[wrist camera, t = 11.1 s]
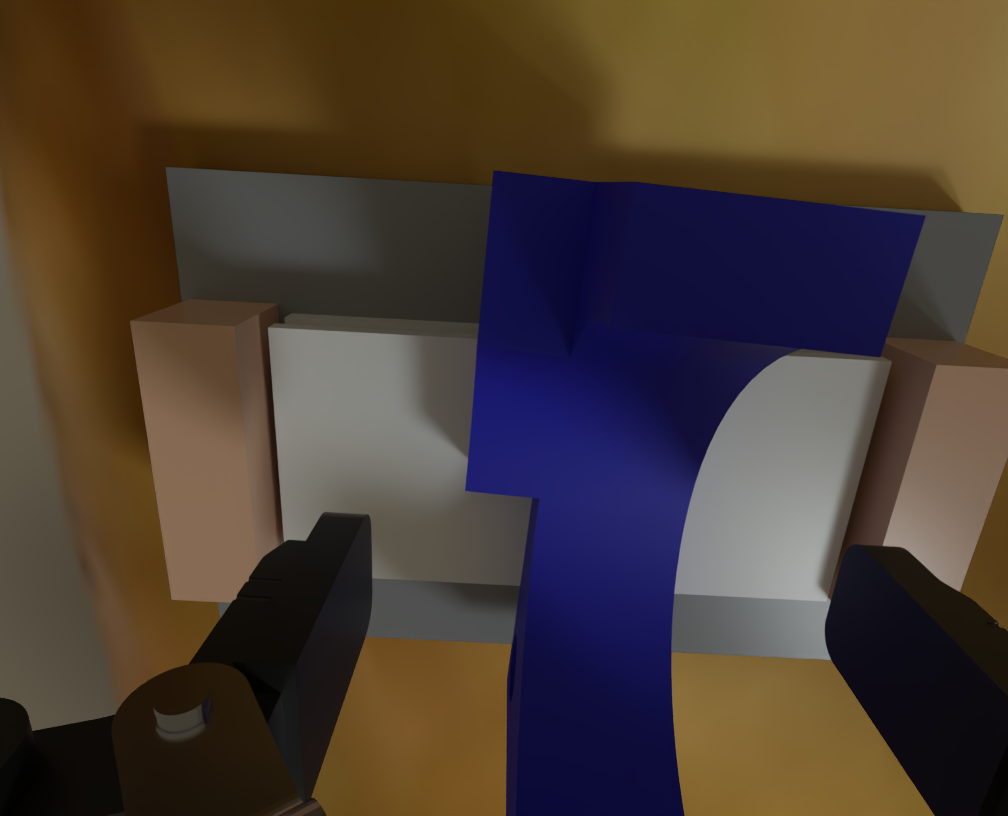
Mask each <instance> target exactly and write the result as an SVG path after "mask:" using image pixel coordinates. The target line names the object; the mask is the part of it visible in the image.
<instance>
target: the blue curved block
mask: <svg viewBox="0 0 1008 816" xmlns="http://www.w3.org/2000/svg"><path fill="white" fill-rule="evenodd" d="M925 217H926V216H925V215H917V214H908V213H899V212H891V211H882V210H873V209H865V208H856V207H847V206H839V205H830V204H821V203H813V202H804V201H796V200H787V199H778V198H770V197H761V196H752V195H744V194H735V193H726V192H718V191H709V190H700V189H692V188H683V187H675V186H666V185H657V184H649V183H640V182H589V181H580V180H572V179H563V178H554V177H546V176H537V175H528V174H520V173H511V172H502V171H494V172H493V183H492V193H491V204H490V214H489V224H488V235H487V245H486V256H485V266H484V277H483V287H482V297H481V308H480V318H479V329H478V339H477V351H476V368H475V382H474V395H473V408H472V420H471V432H470V443H469V454H468V465H467V476H466V486H465V491H469V492H479V493H489V494H499V495H509V496H519V497H528V498H532V504H531V511H530V518H529V525H528V533H527V540H526V547H525V554H524V562H523V569H522V576H521V583H520V590H519V597H518V605H517V612H516V619H515V626H514V633H513V641H512V648H511V655H510V662H509V670H508V677H507V773H506V816H684V810H683V804H682V797H681V790H680V783H679V775H678V766H677V758H676V749H675V737H674V724H673V707H672V679H671V644H672V619H673V605H674V592H675V583H676V574H677V566H678V559H679V553H680V546H681V541H682V535H683V530H684V525H685V521H686V516H687V512H688V508H689V504H690V500H691V496H692V493H693V489H694V486H695V482H696V480H697V477H698V474H699V471H700V468H701V465H702V462H703V460H704V457H705V455H706V452H707V450H708V447H709V445H710V443H711V441H712V439H713V437H714V435H715V433H716V431H717V428H718V426H719V425H720V423H721V421H722V420H723V418H724V416H725V414H726V413H727V411H728V409H729V408H730V407H731V405H732V404H733V402H734V401H735V400H736V398H737V397H738V395H739V394H740V393H741V392H742V391H743V389H744V388H745V387H746V386H747V385H748V384H749V383H750V381H751V380H752V379H753V378H755V377H756V376H757V375H758V374H759V373H760V372H761V371H762V370H763V369H765V368H766V367H768V366H769V365H770V364H772V363H773V362H775V361H776V360H778V359H779V358H781V357H784V356H786V355H788V354H790V353H792V352H795V351H797V350H801V349H807V350H816V351H825V352H834V353H843V354H852V355H861V356H871V357H881V354H882V351H883V347H884V344H885V341H886V338H887V335H888V332H889V329H890V326H891V323H892V320H893V316H894V313H895V310H896V307H897V304H898V301H899V298H900V295H901V292H902V289H903V285H904V282H905V279H906V276H907V273H908V270H909V267H910V264H911V261H912V258H913V255H914V251H915V248H916V245H917V242H918V239H919V236H920V233H921V230H922V227H923V224H924V220H925Z"/></svg>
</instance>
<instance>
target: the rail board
mask: <svg viewBox="0 0 1008 816" xmlns="http://www.w3.org/2000/svg"><path fill="white" fill-rule="evenodd" d="M165 168H166V176H167V184H168V193H169V201H170V209H171V217H172V226H173V234H174V242H175V250H176V259H177V267H178V275H179V283H180V292H181V300H182V302H180V303H178V304H175V305H172V306H169V307H167V308H164V309H161V310H158V311H155V312H153V313H150V314H147V315H144V316H142V317H139V318H136V319H133V320H131V321H130V325H131V332H132V339H133V345H134V352H135V358H136V365H137V372H138V378H139V385H140V391H141V398H142V405H143V411H144V418H145V425H146V431H147V438H148V444H149V451H150V458H151V464H152V471H153V478H154V484H155V491H156V497H157V504H158V511H159V517H160V524H161V531H162V537H163V544H164V550H165V557H166V564H167V570H168V577H169V584H170V590H171V597H172V600H189V601H208V602H218V605H219V613H220V618H221V617H222V615H223V614H224V613H225V611H226V610H227V608H228V607H229V605H230V604H231V602H232V601H233V600H236V597H237V594H238V592H239V591H240V589H241V588H242V586H243V585H244V584H245V582H248V580H249V576H250V575H251V573H252V572H253V571H254V569H255V568H256V566H257V565H258V563H259V562H260V560H261V559H262V558H263V556H265V555H266V554H268V553H269V552H271V551H272V550H274V549H275V548H277V547H278V546H279V545H281V544H282V543H284V542H285V541H287V540H302V541H306V539H307V538H308V536H309V534H310V533H311V531H312V529H313V528H314V526H315V524H316V523H317V521H318V519H319V518H320V516H321V515H322V513H324V512H336V513H353V514H368V515H369V516H370V520H371V533H372V589H373V596H372V609H371V616H370V622H369V627H368V630H367V634H366V637H383V638H403V639H423V640H443V641H463V642H483V643H503V644H512V641H513V633H514V626H515V619H516V612H517V605H518V597H519V590H520V583H521V576H522V569H523V562H524V554H525V547H526V540H527V533H528V525H529V518H530V511H531V504H532V498H528V497H519V496H509V495H499V494H489V493H479V492H469V491H465V486H466V476H467V465H468V454H469V443H470V432H471V420H472V408H473V395H474V382H475V368H476V351H477V339H478V329H479V318H480V308H481V297H482V287H483V277H484V266H485V256H486V245H487V235H488V224H489V214H490V204H491V193H492V185H477V184H459V183H442V182H424V181H406V180H389V179H371V178H354V177H336V176H319V175H301V174H284V173H266V172H249V171H231V170H213V169H196V168H175V167H165ZM839 206H845V205H839ZM847 207H856V208H865V209H873V210H882V211H891V212H899V213H908V214H917V215H925V216H926V217H925V220H924V224H923V227H922V230H921V233H920V236H919V239H918V242H917V245H916V248H915V251H914V255H913V258H912V261H911V264H910V267H909V270H908V273H907V276H906V279H905V282H904V285H903V289H902V292H901V295H900V298H899V301H898V304H897V307H896V310H895V313H894V316H893V320H892V323H891V326H890V329H889V332H888V335H887V338H886V341H885V344H884V347H883V351H882V354H881V357H871V356H861V355H852V354H843V353H834V352H825V351H816V350H807V349H801V350H797V351H795V352H792V353H790V354H788V355H786V356H784V357H781V358H779V359H778V360H776V361H775V362H773V363H772V364H770V365H769V366H768V367H766V368H765V369H763V370H762V371H761V372H760V373H759V374H758V375H757V376H756V377H755V378H753V379H752V380H751V381H750V383H749V384H748V385H747V386H746V387H745V388H744V389H743V391H742V392H741V393H740V394H739V395H738V397H737V398H736V400H735V401H734V402H733V404H732V405H731V407H730V408H729V409H728V411H727V413H726V414H725V416H724V418H723V420H722V421H721V423H720V425H719V426H718V428H717V431H716V433H715V435H714V437H713V439H712V441H711V443H710V445H709V447H708V450H707V452H706V455H705V457H704V460H703V462H702V465H701V468H700V471H699V474H698V477H697V480H696V482H695V486H694V489H693V493H692V496H691V500H690V504H689V508H688V512H687V516H686V521H685V525H684V530H683V535H682V541H681V546H680V553H679V559H678V566H677V574H676V583H675V592H674V605H673V619H672V644H671V652H682V653H702V654H722V655H742V656H762V657H782V658H802V659H822V660H831V658H830V656H829V653H828V650H827V647H826V642H825V621H826V617H827V613H828V610H829V606H830V602H831V599H832V595H833V591H834V588H835V584H836V580H837V577H838V573H839V569H840V566H841V562H842V558H843V555H844V553H845V551H846V550H847V549H848V547H850V546H851V545H854V544H861V545H878V546H895V547H902V548H905V549H906V550H908V551H909V552H910V553H911V554H912V555H913V556H914V557H915V558H916V559H918V560H919V561H920V562H921V563H922V564H923V565H924V566H925V567H926V568H927V569H928V570H929V571H931V572H932V573H933V574H934V575H935V576H936V577H937V578H938V579H939V580H940V581H942V582H944V583H945V584H947V585H949V586H950V587H952V588H954V589H955V590H957V591H959V592H960V590H961V587H962V584H963V581H964V578H965V576H966V573H967V570H968V567H969V564H970V562H971V559H972V556H973V553H974V550H975V548H976V545H977V542H978V539H979V536H980V534H981V531H982V528H983V525H984V522H985V520H986V517H987V514H988V511H989V508H990V506H991V503H992V500H993V497H994V494H995V492H996V489H997V486H998V483H999V480H1000V478H1001V475H1002V472H1003V469H1004V467H1005V464H1006V461H1007V458H1008V359H1005V358H1002V357H999V356H997V355H994V354H991V353H988V352H985V351H982V350H980V349H977V348H974V347H971V346H968V345H965V344H964V342H965V339H966V335H967V332H968V329H969V326H970V323H971V319H972V316H973V313H974V310H975V306H976V303H977V300H978V297H979V294H980V290H981V287H982V284H983V281H984V277H985V274H986V271H987V268H988V265H989V261H990V258H991V255H992V252H993V249H994V245H995V242H996V239H997V236H998V232H999V229H1000V226H1001V223H1002V220H1003V216H1004V215H999V214H983V213H968V212H950V211H933V210H915V209H898V208H880V207H863V206H847Z"/></svg>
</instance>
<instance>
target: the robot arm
mask: <svg viewBox="0 0 1008 816" xmlns="http://www.w3.org/2000/svg"><path fill="white" fill-rule="evenodd" d="M372 596H373V589H372V533H371V520H370V516H369V515H368V514H353V513H336V512H324V513H322V515H321V516H320V518H319V519H318V521H317V523H316V524H315V526H314V528H313V529H312V531H311V533H310V534H309V536H308V538H307V539H306V541H302V540H287V541H285V542H284V543H282V544H281V545H279V546H278V547H277V548H275V549H274V550H272V551H271V552H269V553H268V554H266V555H265V556H263V558H262V559H261V560H260V562H259V563H258V565H257V566H256V568H255V569H254V571H253V572H252V573H251V575H250V576H249V580H248V582H245V584H244V585H243V586H242V588H241V589H240V591H239V592H238V594H237V597H236V600H233V601H232V602H231V604H230V605H229V607H228V608H227V610H226V611H225V613H224V614H223V615H222V617H221V618H220V620H219V621H218V623H217V624H216V626H215V627H214V628H213V630H212V631H211V633H210V634H209V636H208V637H207V639H206V640H205V641H204V643H203V644H202V646H201V647H200V649H199V650H198V652H197V653H196V655H195V656H194V657H193V659H192V660H191V662H190V663H189V665H184V666H180V667H177V668H174V669H171V670H168V671H166V672H163V673H161V674H159V675H157V676H155V677H153V678H151V679H150V680H148V681H147V682H145V683H144V684H142V685H141V686H139V687H138V688H137V689H136V690H135V691H133V692H132V693H131V694H130V695H129V696H128V697H127V698H126V699H125V700H124V702H123V703H122V704H121V706H120V707H119V709H118V710H117V712H116V714H115V715H112V716H107V717H103V718H99V719H94V720H88V721H83V722H79V723H73V724H67V725H63V726H57V727H52V728H46V729H41V730H36V731H32V728H31V724H30V720H29V716H28V714H27V711H26V710H25V708H24V707H23V706H22V705H21V704H19V703H17V702H15V701H13V700H9V699H5V698H0V816H327V815H326V813H325V812H324V810H323V808H322V807H321V805H320V804H319V802H318V801H317V800H316V799H314V798H311V796H312V793H313V790H314V787H315V784H316V781H317V778H318V775H319V772H320V769H321V766H322V763H323V761H324V758H325V755H326V752H327V749H328V746H329V743H330V740H331V737H332V734H333V731H334V728H335V725H336V722H337V719H338V716H339V713H340V710H341V707H342V705H343V702H344V699H345V696H346V693H347V690H348V687H349V684H350V681H351V678H352V675H353V672H354V669H355V666H356V663H357V660H358V657H359V654H360V651H361V649H362V646H363V643H364V640H365V637H366V634H367V630H368V627H369V622H370V616H371V609H372ZM825 642H826V647H827V650H828V653H829V656H830V658H831V660H832V662H833V663H834V665H835V666H836V668H837V669H838V671H839V672H840V674H841V675H842V677H843V678H844V680H845V681H846V683H847V684H848V686H849V687H850V689H851V690H852V692H853V693H854V695H855V696H856V698H857V699H858V701H859V702H860V704H861V705H862V707H863V708H864V710H865V711H866V713H867V714H868V716H869V717H870V719H871V720H872V722H873V723H874V725H875V726H876V728H877V729H878V731H879V732H880V734H881V735H882V737H883V738H884V740H885V741H886V743H887V744H888V746H889V747H890V749H891V750H892V752H893V753H894V755H895V756H896V758H897V759H898V761H899V762H900V764H901V766H902V767H903V769H904V770H905V772H906V773H907V775H908V776H909V778H910V779H911V781H912V782H913V784H914V785H915V787H916V788H917V790H918V791H919V793H920V794H921V796H922V797H923V799H924V800H925V802H926V803H927V805H928V806H929V808H930V809H931V811H932V812H933V814H934V815H935V816H1008V631H1007V630H1006V629H1004V628H999V626H998V622H997V621H996V620H994V619H993V618H992V617H991V616H990V615H989V614H988V613H987V612H986V611H985V610H983V609H982V608H981V607H980V606H979V605H978V604H977V603H976V602H975V601H973V600H972V599H971V598H969V597H967V596H965V595H964V594H962V593H960V592H959V591H957V590H955V589H954V588H952V587H950V586H949V585H947V584H945V583H944V582H942V581H940V580H939V579H938V578H937V577H936V576H935V575H934V574H933V573H932V572H931V571H929V570H928V569H927V568H926V567H925V566H924V565H923V564H922V563H921V562H920V561H919V560H918V559H916V558H915V557H914V556H913V555H912V554H911V553H910V552H909V551H908V550H906V549H905V548H902V547H895V546H878V545H861V544H854V545H851V546H850V547H848V549H847V550H846V551H845V553H844V555H843V558H842V562H841V566H840V569H839V573H838V577H837V580H836V584H835V588H834V591H833V595H832V599H831V602H830V606H829V610H828V613H827V617H826V621H825Z"/></svg>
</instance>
